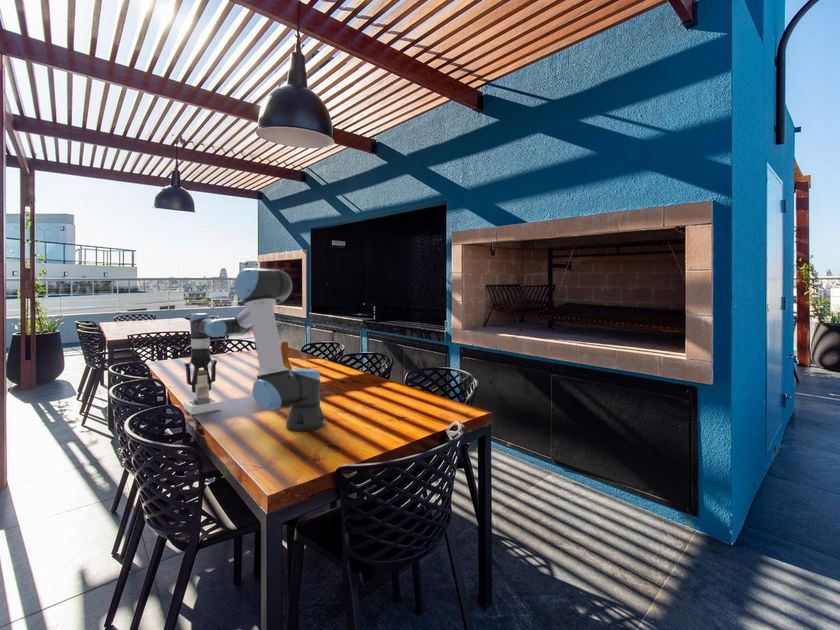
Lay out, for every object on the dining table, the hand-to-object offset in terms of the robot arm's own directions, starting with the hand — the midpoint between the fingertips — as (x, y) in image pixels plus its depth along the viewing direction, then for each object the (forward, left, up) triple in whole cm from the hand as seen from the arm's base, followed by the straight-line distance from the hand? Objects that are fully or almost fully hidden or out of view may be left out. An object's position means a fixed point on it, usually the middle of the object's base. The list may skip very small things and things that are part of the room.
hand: (201, 398), depth 194 cm
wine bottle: (-15, -33, -5) cm, 37 cm away
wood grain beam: (0, 0, -1) cm, 1 cm away
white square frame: (0, 0, -5) cm, 5 cm away
